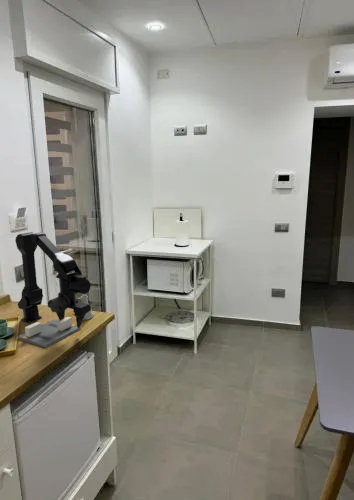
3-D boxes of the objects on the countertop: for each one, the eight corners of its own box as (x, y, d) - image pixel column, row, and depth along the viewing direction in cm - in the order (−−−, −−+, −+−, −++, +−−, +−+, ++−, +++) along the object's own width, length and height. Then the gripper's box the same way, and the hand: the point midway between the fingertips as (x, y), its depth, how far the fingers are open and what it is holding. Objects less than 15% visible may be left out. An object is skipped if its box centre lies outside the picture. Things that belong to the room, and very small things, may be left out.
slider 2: (57, 329, 150) (56, 321, 149) (68, 324, 155) (67, 316, 154) (61, 331, 149) (61, 322, 148) (72, 325, 154) (71, 317, 153)
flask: (89, 321, 162) (88, 299, 160) (74, 319, 164) (73, 298, 161) (96, 314, 169) (95, 294, 167) (81, 313, 170) (80, 293, 168)
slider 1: (25, 335, 145) (24, 327, 144) (37, 330, 150) (37, 321, 149) (29, 337, 144) (28, 328, 143) (41, 331, 149) (41, 323, 148)
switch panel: (17, 338, 145) (17, 336, 145) (53, 321, 161) (53, 319, 161) (45, 347, 138) (45, 345, 137) (80, 328, 154) (80, 326, 154)
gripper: (35, 291, 144) (39, 327, 147) (70, 299, 135) (72, 337, 139) (57, 283, 154) (59, 318, 157) (90, 290, 145) (92, 327, 148)
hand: (70, 325), depth 150 cm, fingers open, 9 cm apart
